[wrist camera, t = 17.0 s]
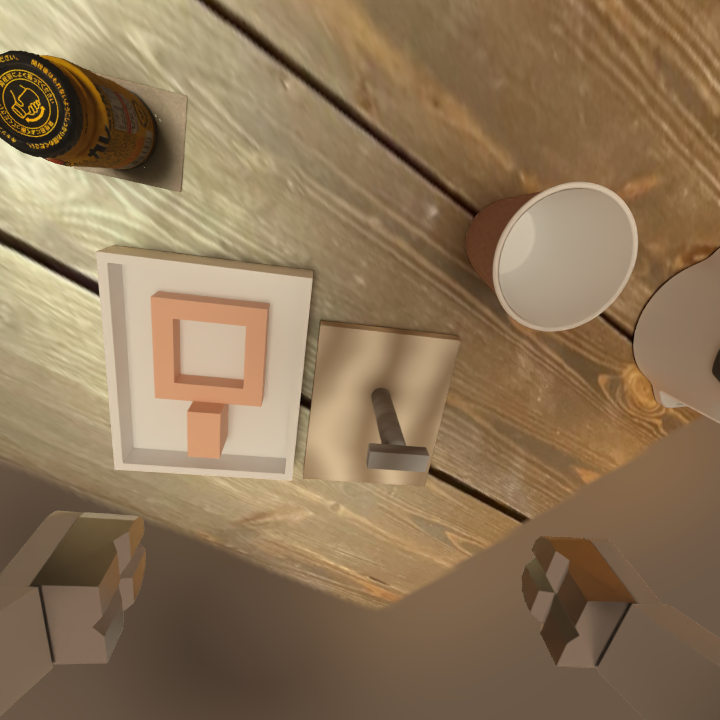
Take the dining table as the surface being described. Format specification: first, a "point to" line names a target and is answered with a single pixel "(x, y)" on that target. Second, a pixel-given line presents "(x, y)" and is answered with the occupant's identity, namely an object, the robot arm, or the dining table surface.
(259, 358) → the square frame with stem
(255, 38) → the dining table surface
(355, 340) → the board
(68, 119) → the condiment
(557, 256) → the coffee cup
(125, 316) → the tray
